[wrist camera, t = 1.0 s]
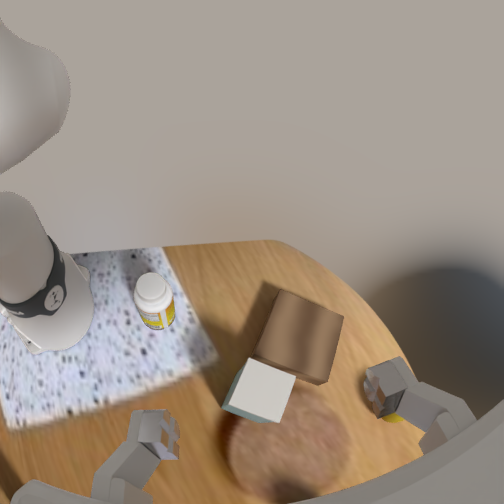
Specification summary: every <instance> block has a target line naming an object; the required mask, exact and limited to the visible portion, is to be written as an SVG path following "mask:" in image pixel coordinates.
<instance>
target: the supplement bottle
mask: <svg viewBox="0 0 504 504" xmlns="http://www.w3.org/2000/svg"><path fill="white" fill-rule="evenodd" d="M133 296H134V301H135V304H136V306H137V308H138V311H139V313H140V315H141V318H142V320H143V322H144V323H145V325H146V326H147V327H149V328H151V329H153V330H164V329H166V328H168V327H169V326H170V325H171V324H172V323H173V321H174V319H175V308H174V300H173V292H172V288H171V286H170V284H169V283H168V282H167V281H166V280H165V279H164V278H163V277H162V276H161V275H159V274H157V273H154V272H149V273H145V274H143V275H142V276H140V278H139V279H138V281H137V283H136V286H135V289H134V294H133Z"/></svg>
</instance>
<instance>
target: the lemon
mask: <svg viewBox="0 0 504 504" xmlns="http://www.w3.org/2000/svg"><path fill="white" fill-rule="evenodd" d="M382 419H383V420H385V421H387V422H390V423H396V422H400V421H403V420H405V419H404V418H402V417H400V416H399V415H397V414H396V413H395V412H394V413H392V414H390V415H387V416H384V417H382Z"/></svg>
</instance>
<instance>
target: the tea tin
mask: <svg viewBox="0 0 504 504" xmlns="http://www.w3.org/2000/svg"><path fill="white" fill-rule="evenodd" d="M295 378H296V376H294V375H291V374H289V373H286V372H283V371H281V370H278V369H276V368H273V367H271V366H268V365H266V364H263V363H261V362H258V361H256V360H254V359H251V358H248V360H247V362H246V363H245V364H244V366H243V367H242V368H241V369H240V370H239V371H238V373H237V374H236V376H235V378H234V380H233V383H232V385H231V387H230V389H229V392H228V394H227V396H226V398H225V400H224V403H223V405H222V407H221V408H222V409H224V410H227V411H229V412H232V413H234V414H237V415H239V416H242V417H244V418H247V419H250V420H252V421H255V422H258V423H265V422H276V423H279V422H280V420H281V417H282V414H283V412H284V409H285V406H286V404H287V401H288V398H289V396H290V393H291V390H292V387H293V384H294V381H295Z"/></svg>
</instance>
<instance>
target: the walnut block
mask: <svg viewBox="0 0 504 504" xmlns="http://www.w3.org/2000/svg"><path fill="white" fill-rule="evenodd" d="M343 319H344V316H342V315H340V314H337V313H335V312H333V311H330V310H328V309H325V308H323V307H321V306H318V305H316V304H314V303H311V302H309V301H307V300H305V299H302V298H300V297H298V296H295V295H293V294H291V293H288V292H286V291H284V290H282V289H280V291H279V292H278V294H277V296H276V297H275V299H274V302H273V304H272V307H271V309H270V312H269V314H268V317H267V319H266V321H265V324H264V326H263V329H262V331H261V334H260V336H259V339H258V341H257V343H256V346H255V348H254V351H253V353H252V355H251V359H254V360H256V361H258V362H261V363H263V364H266V365H268V366H271V367H273V368H276V369H278V370H281V371H283V372H286V373H289V374H291V375H294V376H296V378H298V379H300V380H303V381H306V382H309V383H312V384H315V385H321V384H323V383H326V382H328V379H329V375H330V371H331V368H332V364H333V360H334V357H335V353H336V349H337V345H338V341H339V336H340V332H341V328H342V323H343Z"/></svg>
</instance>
